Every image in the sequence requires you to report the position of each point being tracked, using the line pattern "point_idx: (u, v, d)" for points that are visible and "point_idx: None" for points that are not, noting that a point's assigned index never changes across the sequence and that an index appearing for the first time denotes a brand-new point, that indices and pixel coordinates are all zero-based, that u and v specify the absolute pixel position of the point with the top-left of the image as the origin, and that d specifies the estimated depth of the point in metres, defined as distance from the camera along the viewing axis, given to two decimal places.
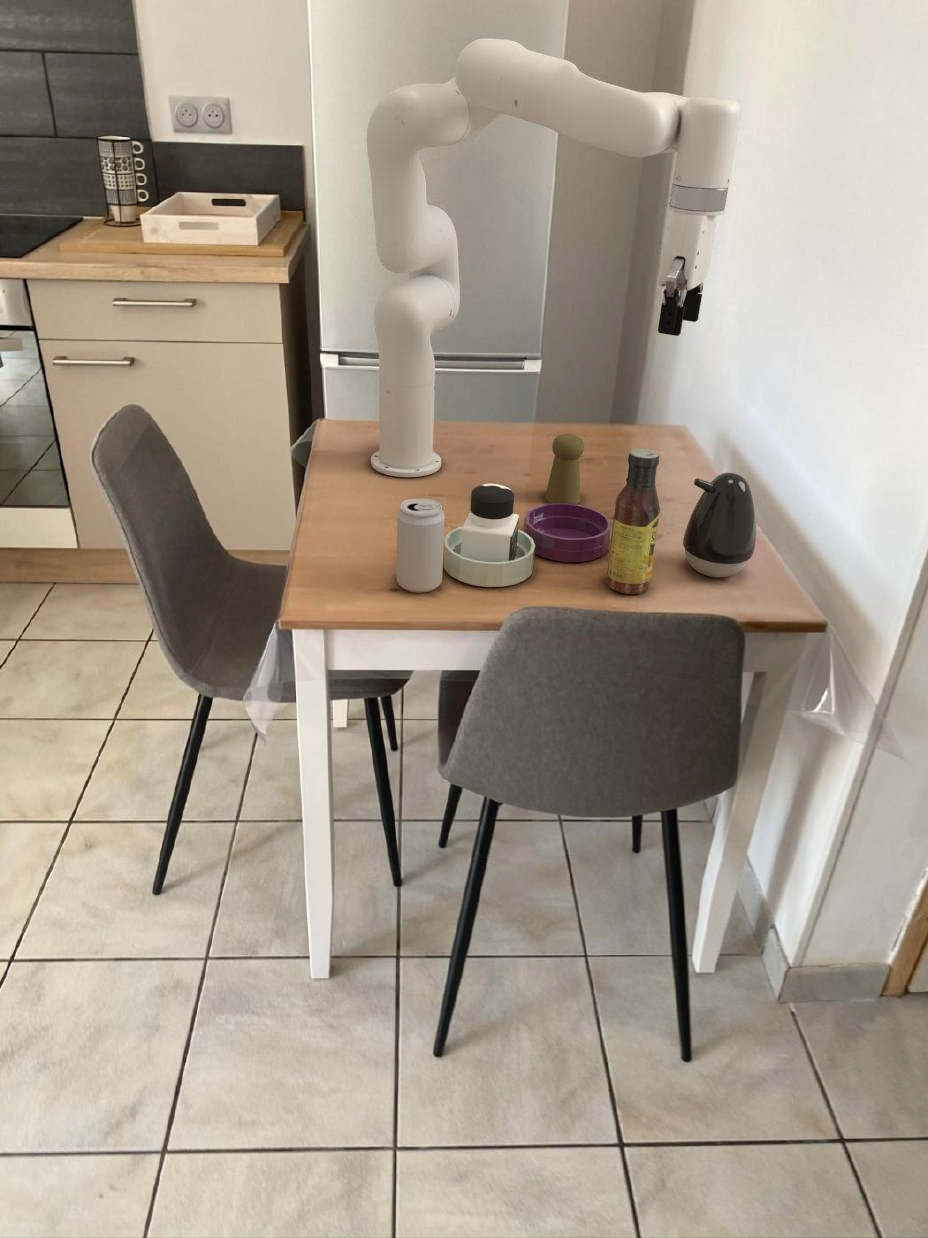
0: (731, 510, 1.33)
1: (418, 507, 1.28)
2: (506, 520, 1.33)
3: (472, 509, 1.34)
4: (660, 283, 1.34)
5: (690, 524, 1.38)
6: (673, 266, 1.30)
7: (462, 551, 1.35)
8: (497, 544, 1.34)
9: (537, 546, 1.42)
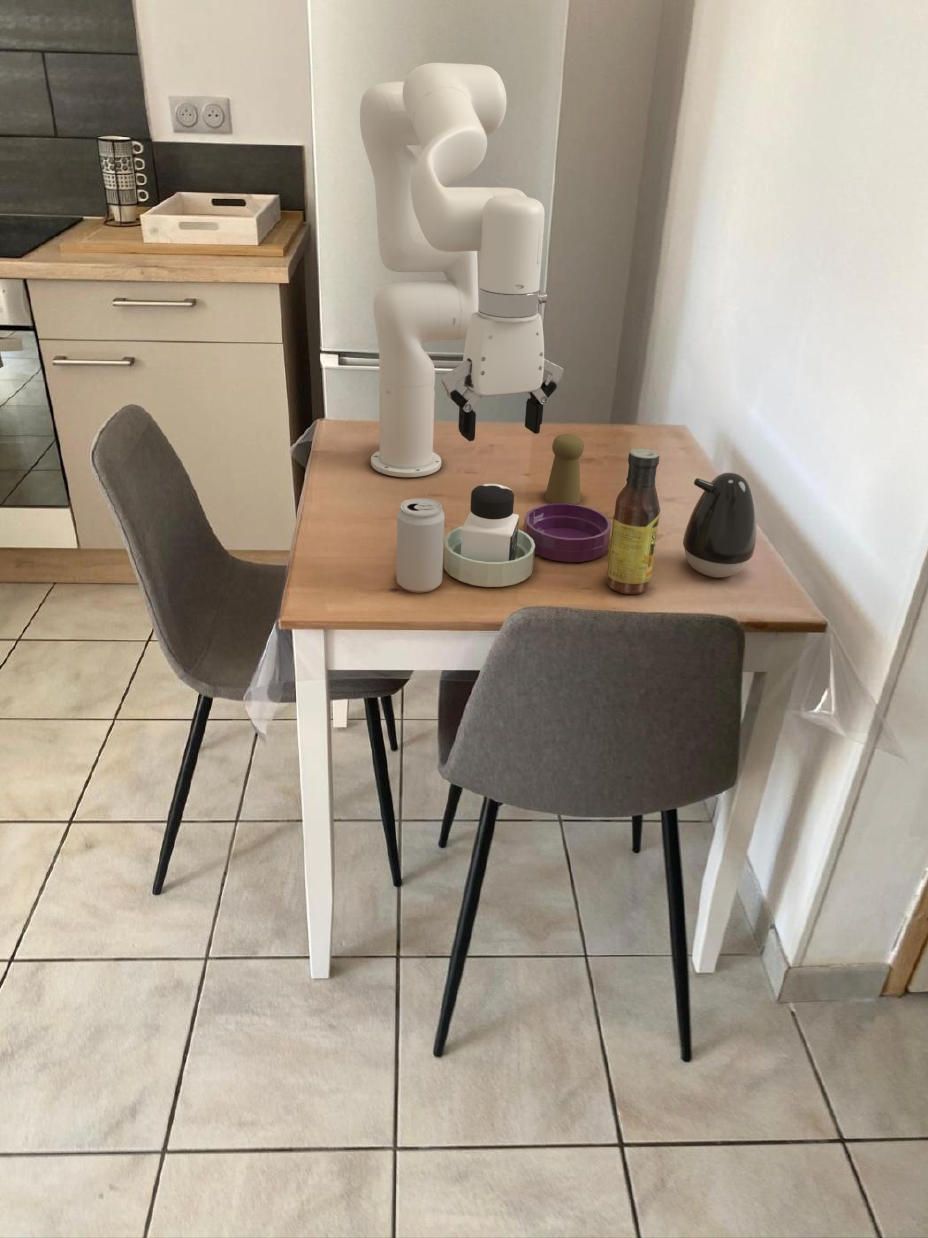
0: (731, 510, 1.33)
1: (418, 507, 1.28)
2: (506, 520, 1.33)
3: (472, 509, 1.34)
4: (463, 383, 1.26)
5: (690, 524, 1.38)
6: (456, 367, 1.22)
7: (462, 551, 1.35)
8: (497, 544, 1.34)
9: (537, 546, 1.42)
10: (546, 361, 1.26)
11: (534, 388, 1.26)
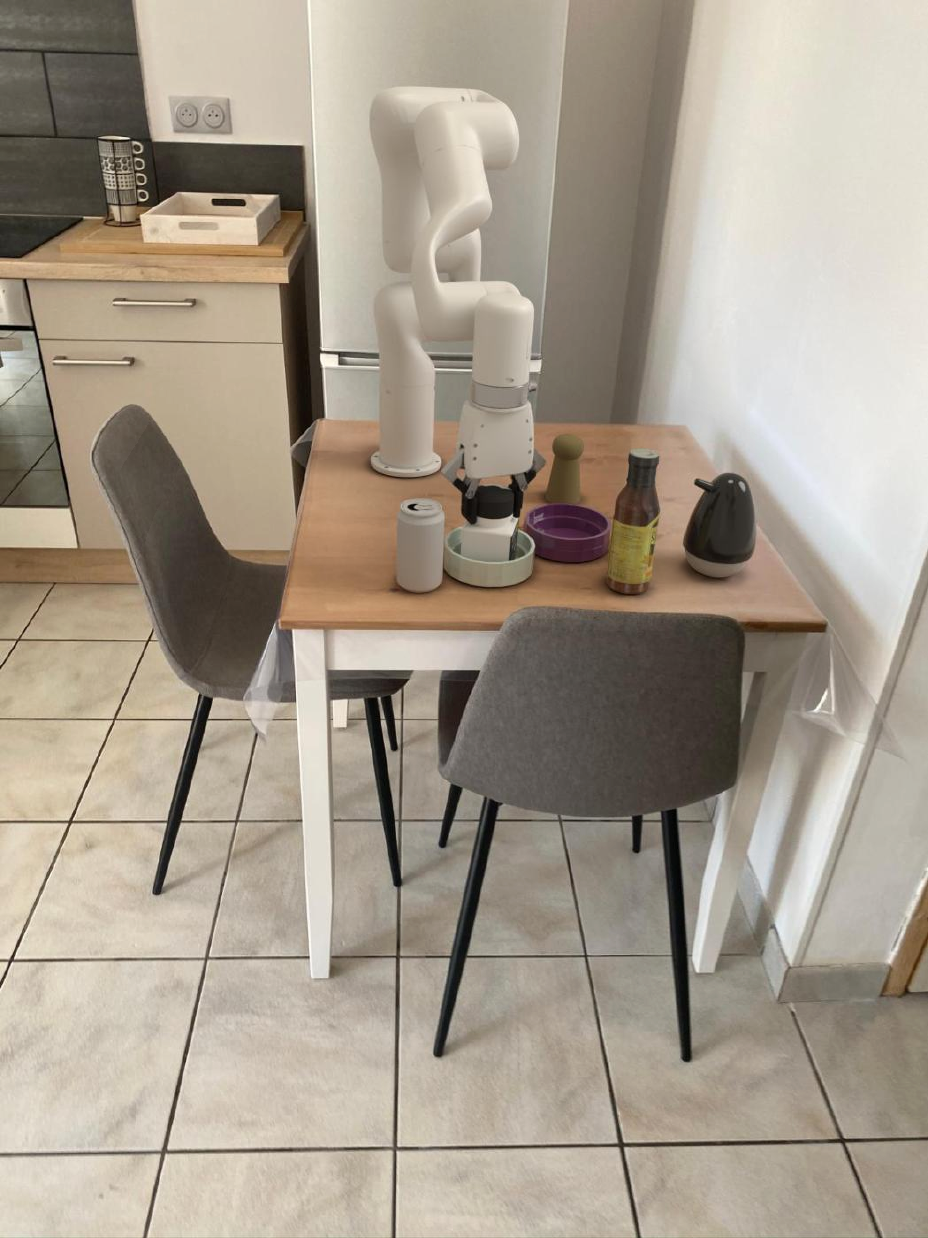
0: (731, 510, 1.33)
1: (418, 507, 1.28)
2: (506, 520, 1.33)
3: None
4: None
5: (690, 524, 1.38)
6: (452, 458, 1.29)
7: (462, 551, 1.35)
8: (497, 544, 1.34)
9: (537, 546, 1.42)
10: (533, 449, 1.32)
11: (524, 470, 1.31)
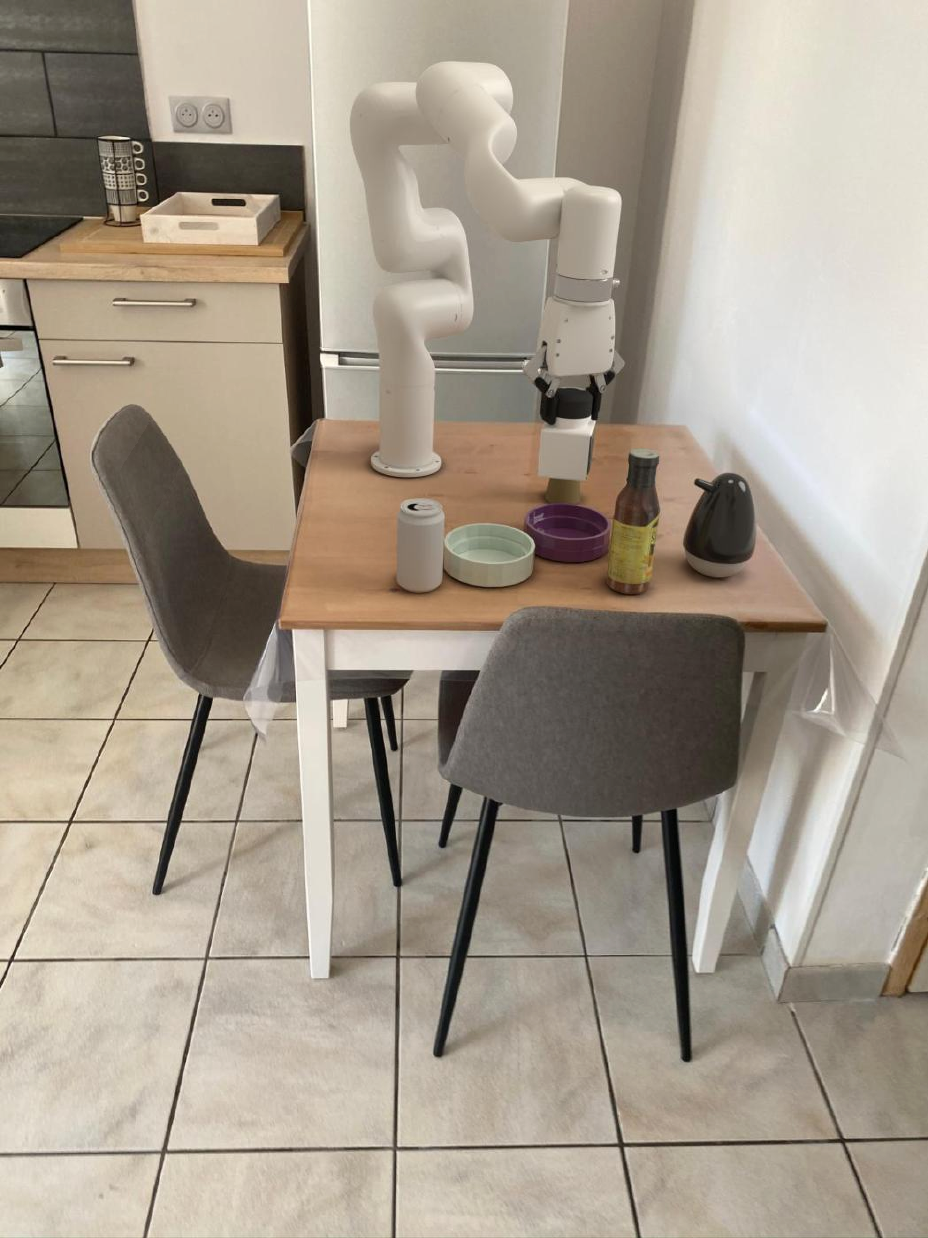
0: (731, 510, 1.33)
1: (418, 507, 1.28)
2: (585, 421, 1.34)
3: None
4: None
5: (690, 524, 1.38)
6: (534, 356, 1.29)
7: (541, 454, 1.35)
8: (576, 445, 1.34)
9: (537, 546, 1.42)
10: None
11: (604, 370, 1.32)
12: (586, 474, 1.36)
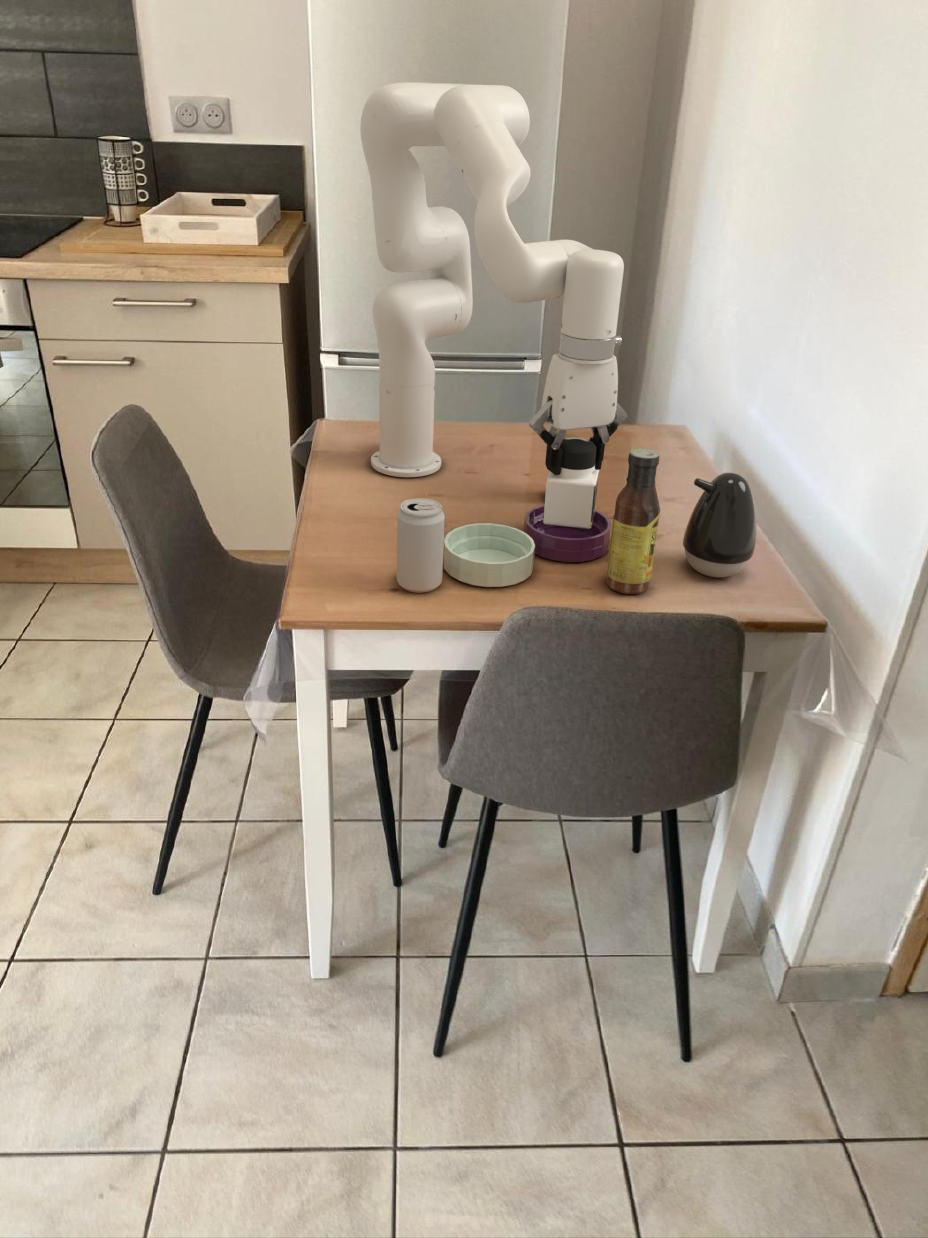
0: (731, 510, 1.33)
1: (418, 507, 1.28)
2: (589, 471, 1.39)
3: None
4: None
5: (690, 524, 1.38)
6: (540, 410, 1.34)
7: (546, 502, 1.40)
8: (580, 494, 1.39)
9: (537, 546, 1.42)
10: None
11: (607, 422, 1.37)
12: (590, 522, 1.41)
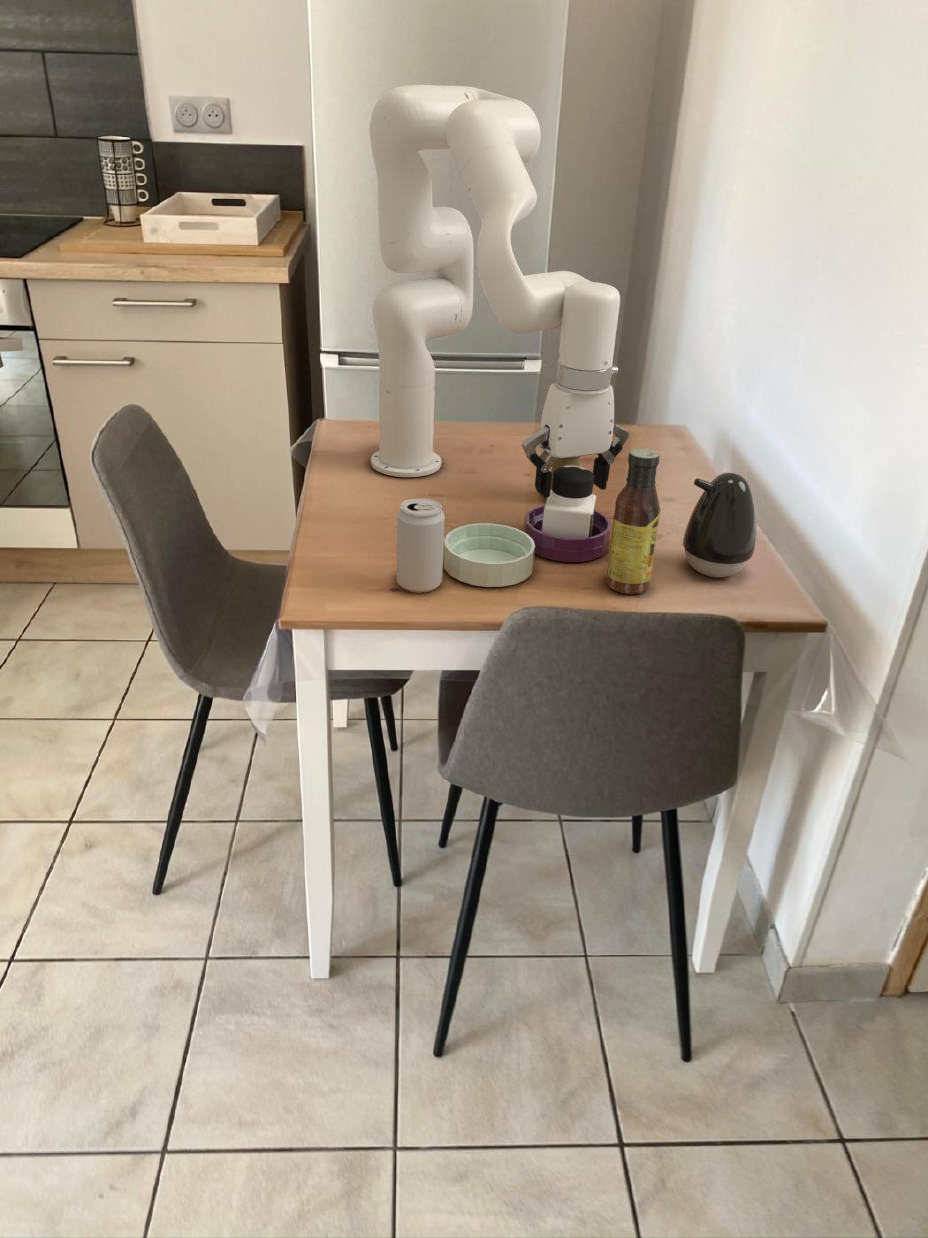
0: (731, 510, 1.33)
1: (418, 507, 1.28)
2: (586, 499, 1.41)
3: (554, 489, 1.41)
4: (539, 445, 1.39)
5: (690, 524, 1.38)
6: (536, 433, 1.36)
7: (544, 529, 1.43)
8: (577, 522, 1.41)
9: (537, 546, 1.42)
10: (614, 426, 1.39)
11: (604, 450, 1.39)
12: None
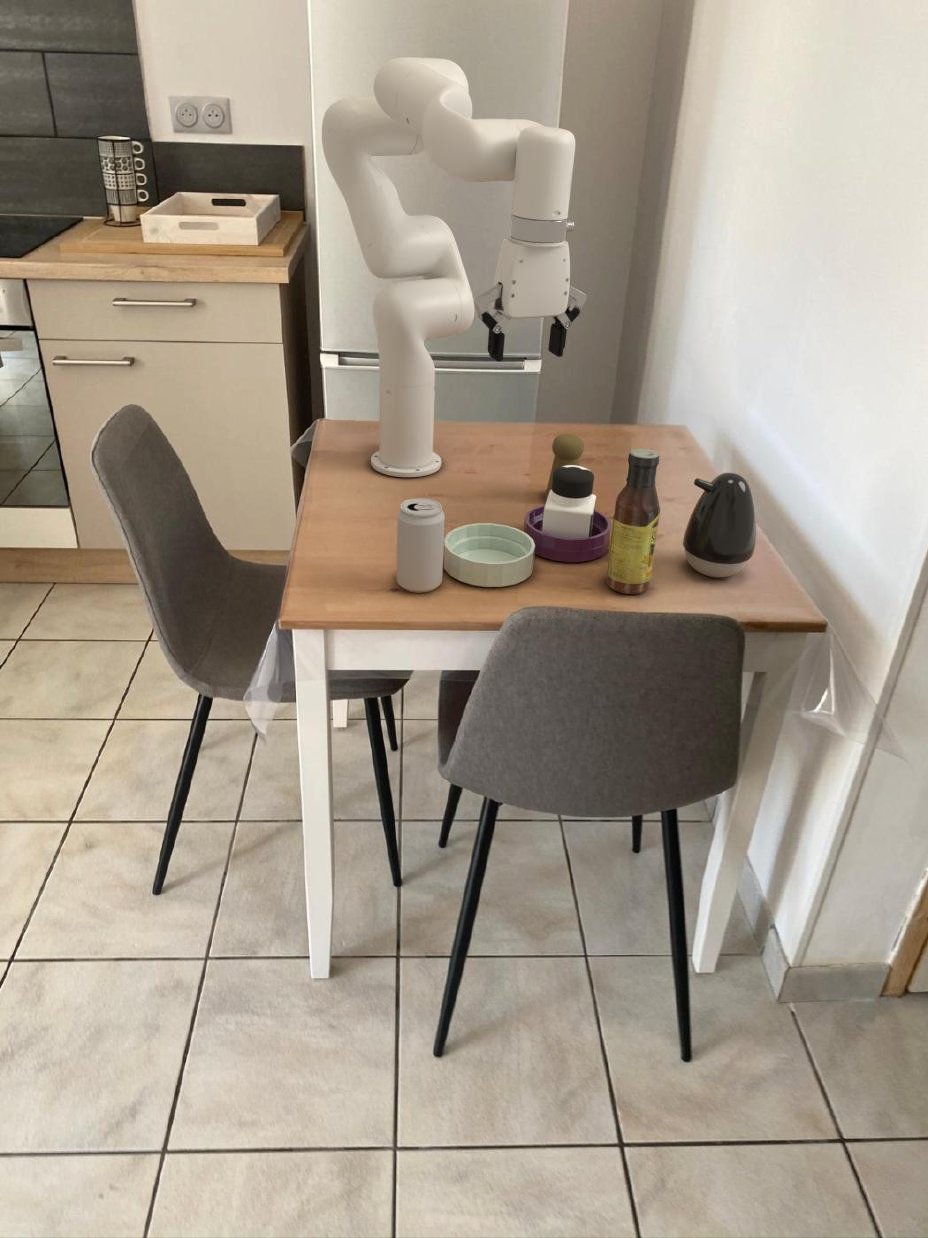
0: (731, 510, 1.33)
1: (418, 507, 1.28)
2: (586, 499, 1.41)
3: (554, 489, 1.41)
4: None
5: (690, 524, 1.38)
6: (488, 290, 1.31)
7: (544, 529, 1.43)
8: (577, 522, 1.41)
9: (537, 546, 1.42)
10: (571, 287, 1.35)
11: (559, 312, 1.34)
12: None
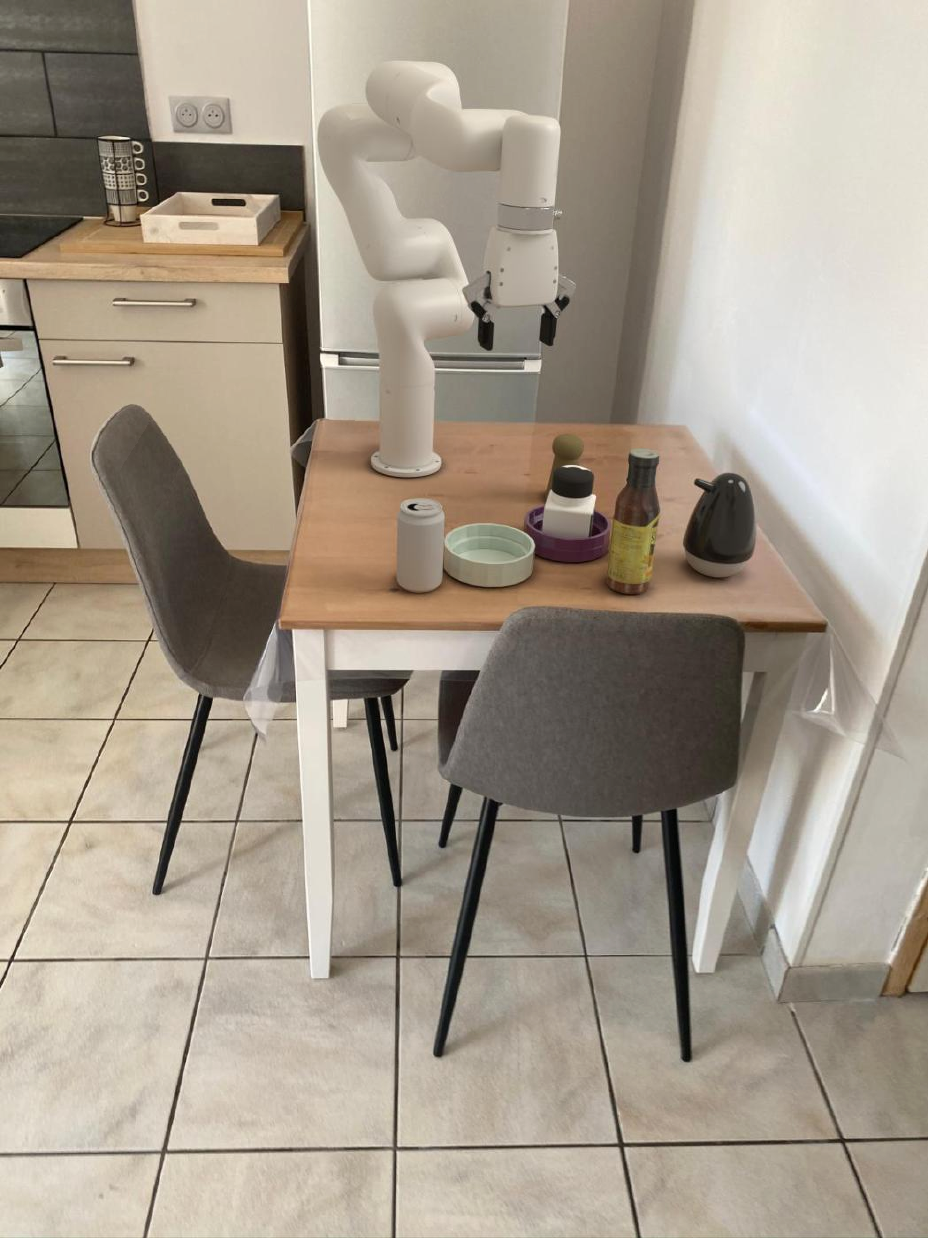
0: (731, 510, 1.33)
1: (418, 507, 1.28)
2: (586, 499, 1.41)
3: (554, 489, 1.41)
4: (482, 296, 1.35)
5: (690, 524, 1.38)
6: (477, 279, 1.31)
7: (544, 529, 1.43)
8: (577, 522, 1.41)
9: (537, 546, 1.42)
10: (560, 276, 1.35)
11: (549, 301, 1.34)
12: None
